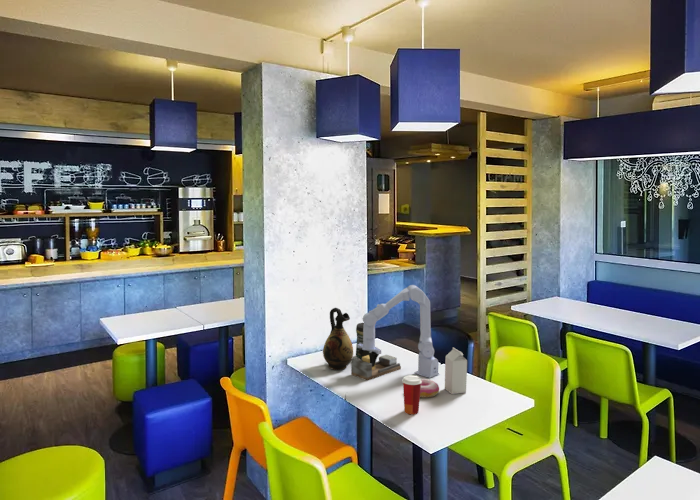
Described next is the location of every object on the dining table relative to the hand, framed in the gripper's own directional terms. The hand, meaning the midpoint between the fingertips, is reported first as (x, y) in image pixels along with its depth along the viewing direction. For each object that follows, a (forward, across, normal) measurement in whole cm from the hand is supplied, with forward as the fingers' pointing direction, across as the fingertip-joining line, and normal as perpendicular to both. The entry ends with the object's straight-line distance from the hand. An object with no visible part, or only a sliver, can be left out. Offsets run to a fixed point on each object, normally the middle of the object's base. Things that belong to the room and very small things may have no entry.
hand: (368, 365), depth 250 cm
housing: (+2, 0, 0) cm, 2 cm away
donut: (+5, +33, +1) cm, 33 cm away
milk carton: (+5, +41, +14) cm, 43 cm away
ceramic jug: (+5, -19, -4) cm, 20 cm away
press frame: (+5, 0, +6) cm, 7 cm away
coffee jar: (+5, -20, +18) cm, 27 cm away
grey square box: (+3, 0, +14) cm, 14 cm away
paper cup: (+5, +42, -18) cm, 46 cm away
